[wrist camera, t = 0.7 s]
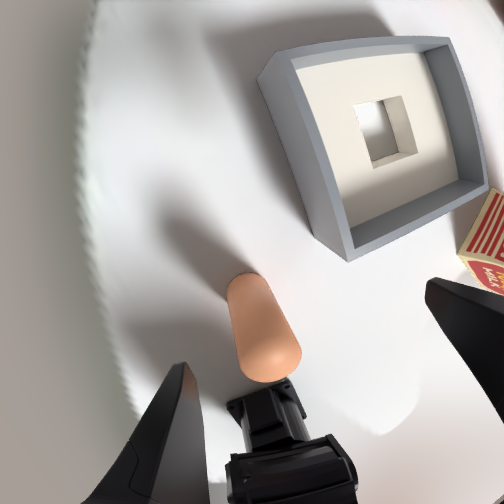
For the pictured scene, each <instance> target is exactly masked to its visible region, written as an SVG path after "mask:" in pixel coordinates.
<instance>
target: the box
mask: <svg viewBox="0 0 504 504" xmlns="http://www.w3.org/2000/svg"><path fill="white" fill-rule="evenodd" d="M256 80H257V83H258V85H259V87H260V90H261V92H262V95H263V97H264V99H265V102H266V104H267V107H268V109H269V112H270V114H271V117H272V119H273V122H274V124H275V127H276V130H277V132H278V135H279V137H280V140H281V143H282V145H283V148H284V151H285V153H286V156H287V159H288V162H289V164H290V167H291V170H292V173H293V175H294V178H295V181H296V184H297V187H298V190H299V193H300V196H301V199H302V201H303V204H304V207H305V210H306V213H307V217H308V220H309V223H310V226H311V229H312V232H313V235H314V238H315V239H317V240H318V241H319V242H321V243H322V244H324V245H325V246H326V247H328V248H329V249H330V250H332V251H333V252H334V253H336V254H337V255H339V256H340V257H341V258H343V259H344V260H345V261H347V262H351V261H353V260H355V259H357V258H359V257H361V256H363V255H365V254H367V253H369V252H372V251H374V250H376V249H378V248H380V247H382V246H384V245H386V244H388V243H390V242H392V241H394V240H396V239H398V238H400V237H402V236H404V235H406V234H408V233H410V232H412V231H414V230H416V229H418V228H420V227H422V226H423V225H425V224H427V223H429V222H431V221H433V220H435V219H437V218H439V217H441V216H442V215H444V214H446V213H448V212H450V211H452V210H454V209H455V208H457V207H459V206H461V205H463V204H465V203H466V202H468V201H470V200H472V199H474V198H475V197H477V196H479V195H481V194H482V193H484V192H486V191H488V190H489V183H488V175H487V168H486V162H485V156H484V150H483V145H482V139H481V135H480V130H479V126H478V121H477V117H476V113H475V110H474V106H473V102H472V99H471V95H470V92H469V89H468V86H467V83H466V80H465V77H464V74H463V71H462V68H461V65H460V63H459V60H458V57H457V55H456V52H455V50H454V47H453V45H452V43H451V40H450V38H449V37H435V36H384V37H368V38H356V39H347V40H338V41H331V42H324V43H318V44H312V45H306V46H301V47H295V48H291V49H286V50H281V51H277V52H275V53H274V54H273V56H272V57H271V59H270V60H269V61H268V63H267V64H266V66H265V67H264V69H263V70H262V72H261V73H260V75H259V76H258V78H257V79H256ZM381 100H383V102H384V105H385V108H386V111H387V114H388V117H389V120H390V123H391V127H392V130H393V133H394V137H395V140H396V144H397V147H398V151H399V153H396V154H393V155H390V156H387V157H384V158H381V159H378V160H375V161H373V162H371V159H370V156H369V153H368V149H367V146H366V143H365V140H364V136H363V133H362V130H361V127H360V124H359V121H358V118H357V115H356V113H355V110H354V107H355V106H359V105H363V104H367V103H372V102H376V101H381Z"/></svg>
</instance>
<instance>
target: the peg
mask: <svg viewBox="0 0 504 504" xmlns="http://www.w3.org/2000/svg"><path fill="white" fill-rule="evenodd" d="M226 295H227V301H228V307H229V312H230V317H231V323H232V328H233V333H234V339H235V344H236V349H237V354H238V359H239V364H240V368H241V370H242V372H243V373H244V374H245V375H246V376H247V377H248V378H250V379H252V380H254V381H258V382H273V381H277V380H280V379H282V378H284V377H286V376H288V375H289V374H291V373H292V372H293V371H294V370H295V369H296V367H297V366H298V364H299V363H300V360H301V355H302V352H301V347H300V345H299V343H298V341H297V339H296V337H295V335H294V334H293V332H292V330H291V328H290V326H289V324H288V322H287V320H286V318H285V316H284V314H283V312H282V310H281V308H280V306H279V305H278V303H277V301H276V299H275V297H274V295H273V293H272V291H271V289H270V287H269V285H268V283H267V282H266V280H265V279H264V278H263V277H262V276H260V275H258V274H255V273H244V274H241V275H238V276H237V277H235V278H234V279H233V280H232V281H231V282H230V283H229V285H228V288H227V293H226Z"/></svg>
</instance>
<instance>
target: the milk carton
mask: <svg viewBox="0 0 504 504" xmlns="http://www.w3.org/2000/svg"><path fill="white" fill-rule="evenodd" d="M457 256H458V257H459V258H460V260H461V261H462V262H463V263H464V265H465V266H466V267H467V269H468V270H469V272H470V273H471V274H472V276H473V277H474V278H475V280H476V281H477V282H478V284H479V285H480V286H481V287H482V288H485V289H487V290H489V291H491V292H494V293H496V294H500V295H503V296H504V193H502V192H500V191H498V190H496V189H494V188H492V189H491V191H490V193H489V195H488V197H487V199H486V201H485V203H484V205H483V207H482V209H481V211H480V213H479V214H478V216H477V218H476V220H475V222H474V224H473V226H472V228H471V230H470V231H469V233H468V235H467V237H466V239H465V241H464V242H463V244H462V246H461V248H460V249H459V251H458V253H457Z"/></svg>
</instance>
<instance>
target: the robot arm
mask: <svg viewBox="0 0 504 504" xmlns="http://www.w3.org/2000/svg"><path fill="white" fill-rule="evenodd" d="M425 303H426V305H427V306H428V308H429V310H430V311H431V313H432V314H433V316H434V318H435V319H436V321H437V323H438V324H439V326H440V327H441V329H442V331H443V332H444V334H445V335H446V336H447V338H448V339H449V341H450V342H451V343H452V345H453V346H454V347H455V349H456V350H457V351H458V353H459V354H460V356H461V357H462V359H463V360H464V362H465V363H466V364H467V366H468V367H469V368H470V370H471V372H472V373H473V375H474V376H475V378H476V379H477V381H478V382H479V384H480V385H481V387H482V388H483V390H484V391H485V393H486V395H487V396H488V398H489V399H490V401H491V403H492V404H493V406H494V408H495V409H496V411H497V413H498V414H499V416H500V418H501V420H502V422H503V423H504V296H503V295H500V294H496V293H493V292H489V291H485V290H482V289H478V288H475V287H471V286H467V285H464V284H460V283H456V282H453V281H449V280H445V279H441V278H438V277H435V278H432V279H430V280H428V281H427V283H426V291H425ZM286 385H288V386H286ZM226 408H227V410H228V411H229V413H230V414H231V415H232V417H233V418H234V419H235V420H236V422H237V423H238V424H239V426H240V427H241V428H242V431H243V437H244V442H245V447H246V452H247V453H241V454H237V453H234V454H230V455H231V461H229V463H227V464H226V465H225V470H226V478H227V500H228V503H229V504H358V502H357V498H356V493H355V492H356V491H357V489H358V476H357V472H356V469H355V466H354V464H353V462H352V460H351V459H350V457H349V456H348V455H347V453H346V452H345V451H344V449H343V448H342V447H341V446H340V444H339V443H338V442H337V440H336V439H335V438H334V436H333V435H332V434H328V435H326V436H325V437H321V438H317V439H313V440H311V439H310V436H309V434H308V431H307V429H306V426H305V424H304V421H303V420H304V419H305V418H306V417H307V416H306V413H305V411H304V409H303V407H302V404H301V402H300V400H299V398H298V396H297V393H296V391H295V389H294V387H293V385H292V382H291V381H289V380H287V381H284V382H281V383H279V384H276V385H274V386H271V387H268V388H266V389H263V390H261V391H258V392H255V393H252V394H250V395H247V396H244V397H241V398H238V399H235V400H232V401H230V402H228V403H227V404H226ZM81 504H210V498H209V490H208V477H207V466H206V453H205V440H204V425H203V417H202V411H201V406H200V400H199V394H198V388H197V383H196V379H195V377H194V375H193V373H192V371H191V370H190V368H189V366H188V364H187V363H186V362H180V363H175V364H174V365H173V366H172V367H171V369H170V371H169V372H168V374H167V376H166V377H165V379H164V381H163V383H162V384H161V386H160V388H159V389H158V391H157V393H156V394H155V396H154V398H153V399H152V401H151V403H150V404H149V406H148V408H147V409H146V411H145V413H144V414H143V416H142V418H141V420H140V421H139V423H138V425H137V426H136V428H135V430H134V431H133V433H132V435H131V437H130V438H129V441H127V443H126V445H125V447H124V448H123V450H122V451H121V453H120V455H119V456H118V458H117V460H116V461H115V462H114V464H113V465H112V467H111V468H110V469H109V471H108V472H107V474H106V475H105V476H104V478H103V479H102V480H101V482H100V483H99V484H98V486H97V487H96V488H95V489H94V491H93V492H92V494H91V495H90V496H89V497H88V498H87V499H86V500H85V501H84V502H82V503H81ZM493 504H504V495H503V496H501V497H500V498H499V499H498V500H497V501H496V502H495V503H493Z"/></svg>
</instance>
